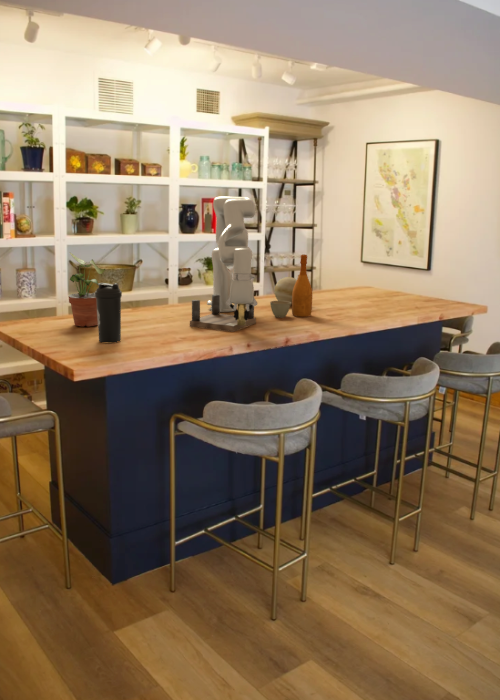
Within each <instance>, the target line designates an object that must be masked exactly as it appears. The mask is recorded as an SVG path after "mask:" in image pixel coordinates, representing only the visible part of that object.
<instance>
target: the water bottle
mask: <svg viewBox="0 0 500 700" xmlns="http://www.w3.org/2000/svg"><path fill="white" fill-rule="evenodd" d="M119 285H120V284H119V283H117V282H115V283H113V284H112V283H106V282H99V283H98V285H97V286H98V287H97V288H96V290H95V291H94V293H95V297H96V302H97V319H98V324H97V329H98V330H97V331H98V341H100V343H102V342H116V343H118V342H117V341H120V340H121V339H122V335H121V333H122V332H121V331H122V327H121V325H122V320H121V319H122V318H121V317H122V314H121V313H122V312H121V311H122V309H121V308H122V305H121V303H122V299H121V298H122V293H123V292H122V291H121V289H120V287H119ZM120 342H121V341H120Z"/></svg>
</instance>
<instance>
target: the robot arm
mask: <svg viewBox="0 0 500 700" xmlns="http://www.w3.org/2000/svg"><path fill="white" fill-rule="evenodd" d="M212 202H213V203H212V205H213V206H212V207H213V211H214V213H215V216H216V225H215V226H216V227H215V242H216V244H217V247H216V248H214V249H213V250H212V252H211V260H212V261H211V263H212V271H213V273H212V277H213V278H212V279H213V282H212V289H213V291H212V292H213V294H212V295H220V313H230V312H233V315H234V318H235V320H237V307H238V304H246V311H245V320H247V318H249V310H250V309H251V308H252V307H254V308H255V306H256V307H257V306H258V301H257V300H256V298H255V292H254V291H255V289H254V280H252V279H255V274H252V259H253V251H252V249H251V247H250V246H248V245H249V232H248V230H247V228H246V225H245V220H244V219H252V218H254V217H255V216H256V205H255V202H254V200H253V199H252V198H249V197H248V196H228V195H227V196H224V195H223V196H217V197H215V198H214V199H213V201H212ZM231 267H233V272H232V273H231V271H230V270H229V269H228V268H231ZM232 274H233V275H232ZM252 303H253V304H252ZM249 304H251V305H250V306H249ZM206 305H208V306H210V307H209V310H210V311H211V312H212V300H207V302H206Z"/></svg>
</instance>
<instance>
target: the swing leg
mask: <svg viewBox="0 0 500 700" xmlns="http://www.w3.org/2000/svg"><path fill="white" fill-rule="evenodd" d="M245 311H246V304H237V325H246V320H245Z"/></svg>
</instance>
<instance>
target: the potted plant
mask: <svg viewBox="0 0 500 700" xmlns="http://www.w3.org/2000/svg"><path fill="white" fill-rule="evenodd" d="M69 254H70V255H71V256H72V258H73V259H74V260H75V261H76V262H78V264H79V265H78V267H79V272H81V268H80V267H82V268H83V267H84V270H83V271H84V272H83V273H75V274H72V275H71V276H70V278H69V280H70V281H71V282H72V283H74V282H75V284H76V285H75V286H76V290H77V292H78V293H77V292H76V293H72V294H71V293H70V294H69V295H68V303H69V304H70V307H71V312H72V317H73V318H72V319H73V325H74V326H77V327H83V328H84V327H94V326H98V319H97V302H96V297H95V292H92V293H90V292H89V291H90V289H91V286H92V285H93V284H96V285H97V286H99V285H98V280H97V279H95V278H92V279H89V277H90V275H88V277H87V279H86V278H85V274H86V271H85V270H86V268H90V269H89V270H91V268H92V265H93V266H94V267H93V268H94V269H95V270H96V272H97V274H99V275H101V274H104V272H105V270H106V268H99V267H98V266H97V264H96V262H95V260H94V259H91V260H90V261H89V262H88V263H89V264H87V262H86V261H85V260H83V259H81V258H79V257H77V256H76V255H74V254H73V253H71V252H69ZM90 272H91V271H89V273H88V274H90ZM79 282H80V284H79V285H80V286H79V287H80V288H79V287H78V284H77V283H79ZM87 286H89V287H88V288H87Z"/></svg>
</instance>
